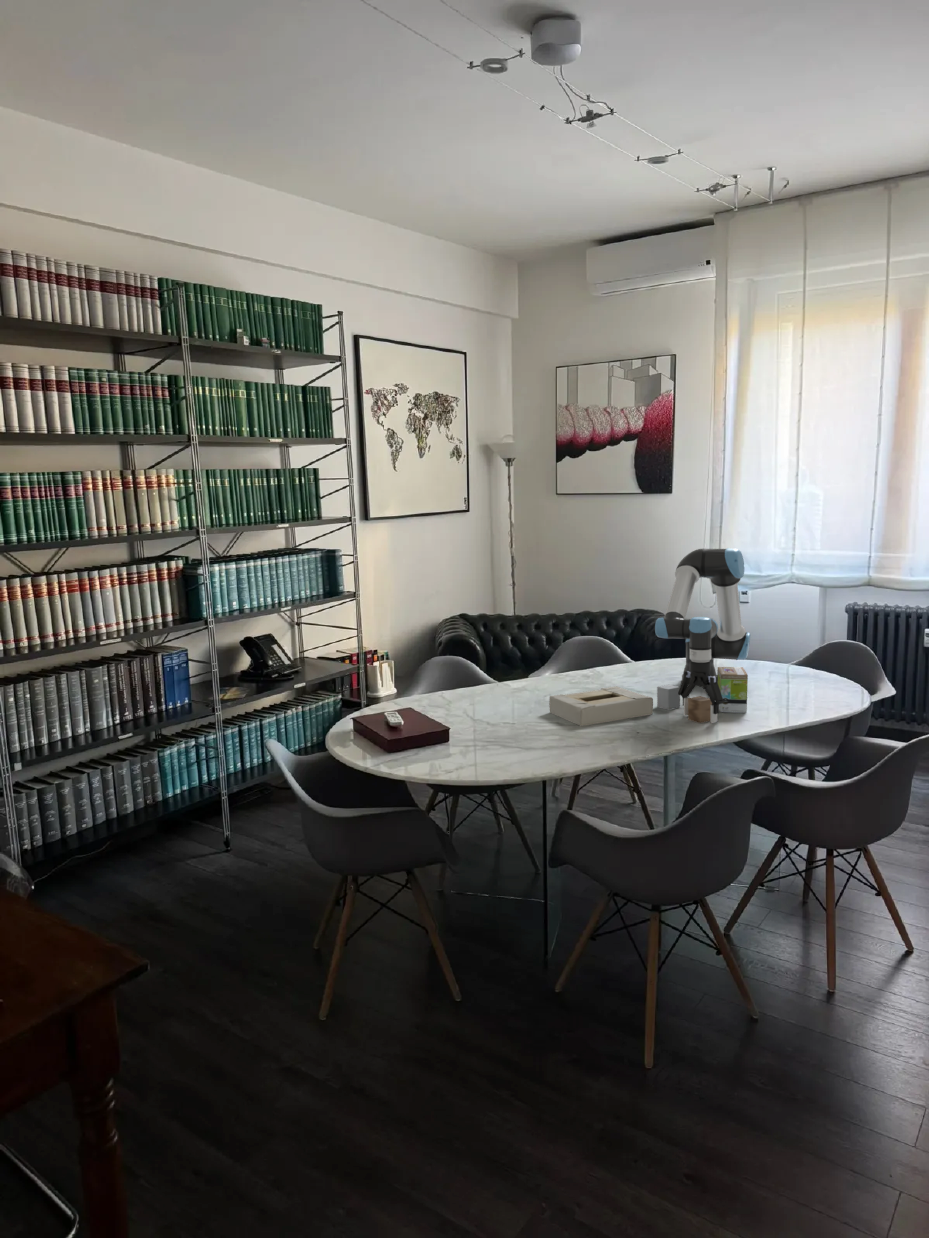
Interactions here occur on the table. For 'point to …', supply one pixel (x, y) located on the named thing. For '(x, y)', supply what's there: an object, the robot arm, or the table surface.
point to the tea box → (733, 689)
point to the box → (600, 705)
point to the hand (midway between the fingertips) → (700, 718)
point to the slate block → (668, 697)
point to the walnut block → (699, 709)
